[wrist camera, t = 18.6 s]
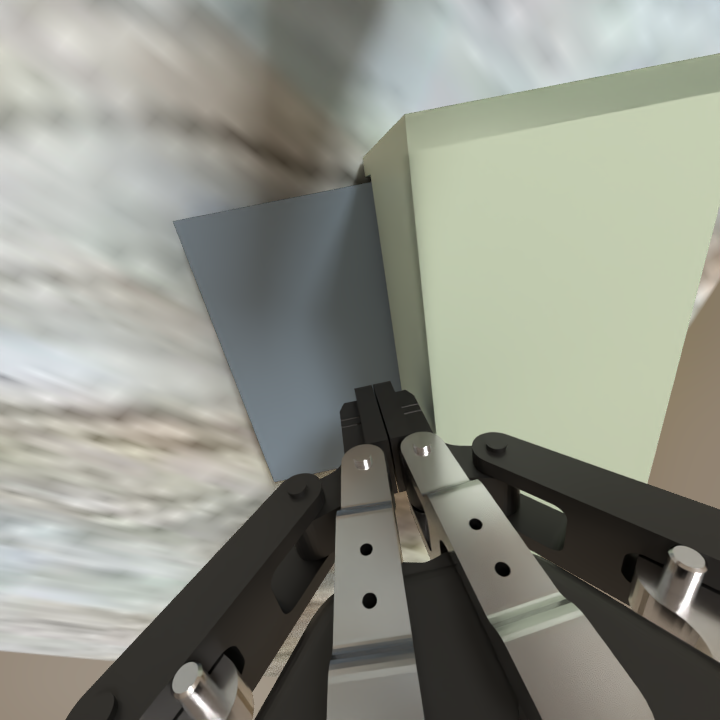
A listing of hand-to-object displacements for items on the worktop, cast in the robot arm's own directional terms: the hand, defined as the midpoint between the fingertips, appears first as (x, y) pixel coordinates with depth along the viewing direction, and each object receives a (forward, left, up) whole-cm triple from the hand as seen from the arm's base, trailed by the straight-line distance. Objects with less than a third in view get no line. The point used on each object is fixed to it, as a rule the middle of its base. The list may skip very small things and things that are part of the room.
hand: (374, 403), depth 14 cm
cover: (+6, 0, -7) cm, 9 cm away
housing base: (+3, 0, -7) cm, 8 cm away
